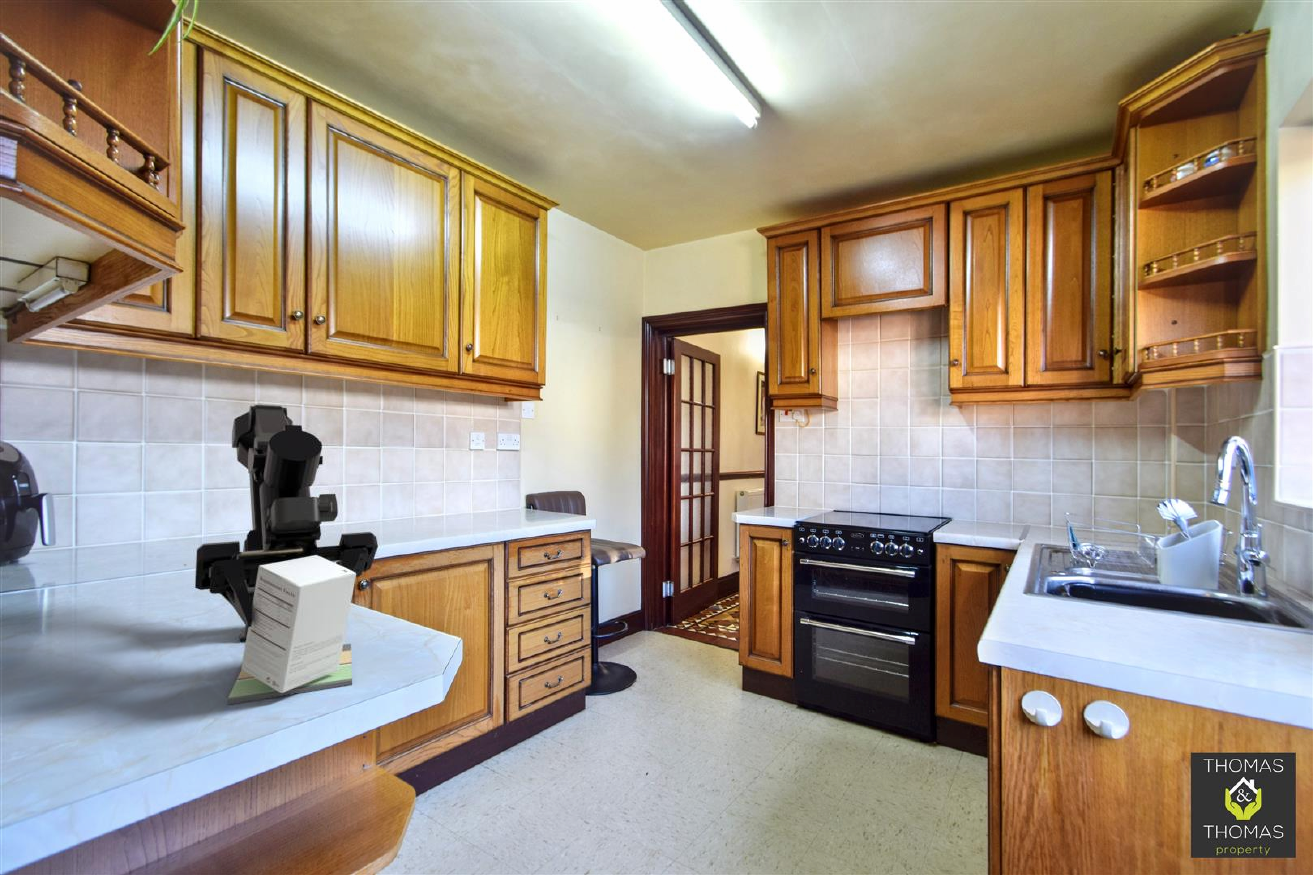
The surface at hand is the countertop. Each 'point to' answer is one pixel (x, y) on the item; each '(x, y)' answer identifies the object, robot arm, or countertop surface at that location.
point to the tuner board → (256, 690)
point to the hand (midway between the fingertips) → (297, 617)
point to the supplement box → (298, 621)
